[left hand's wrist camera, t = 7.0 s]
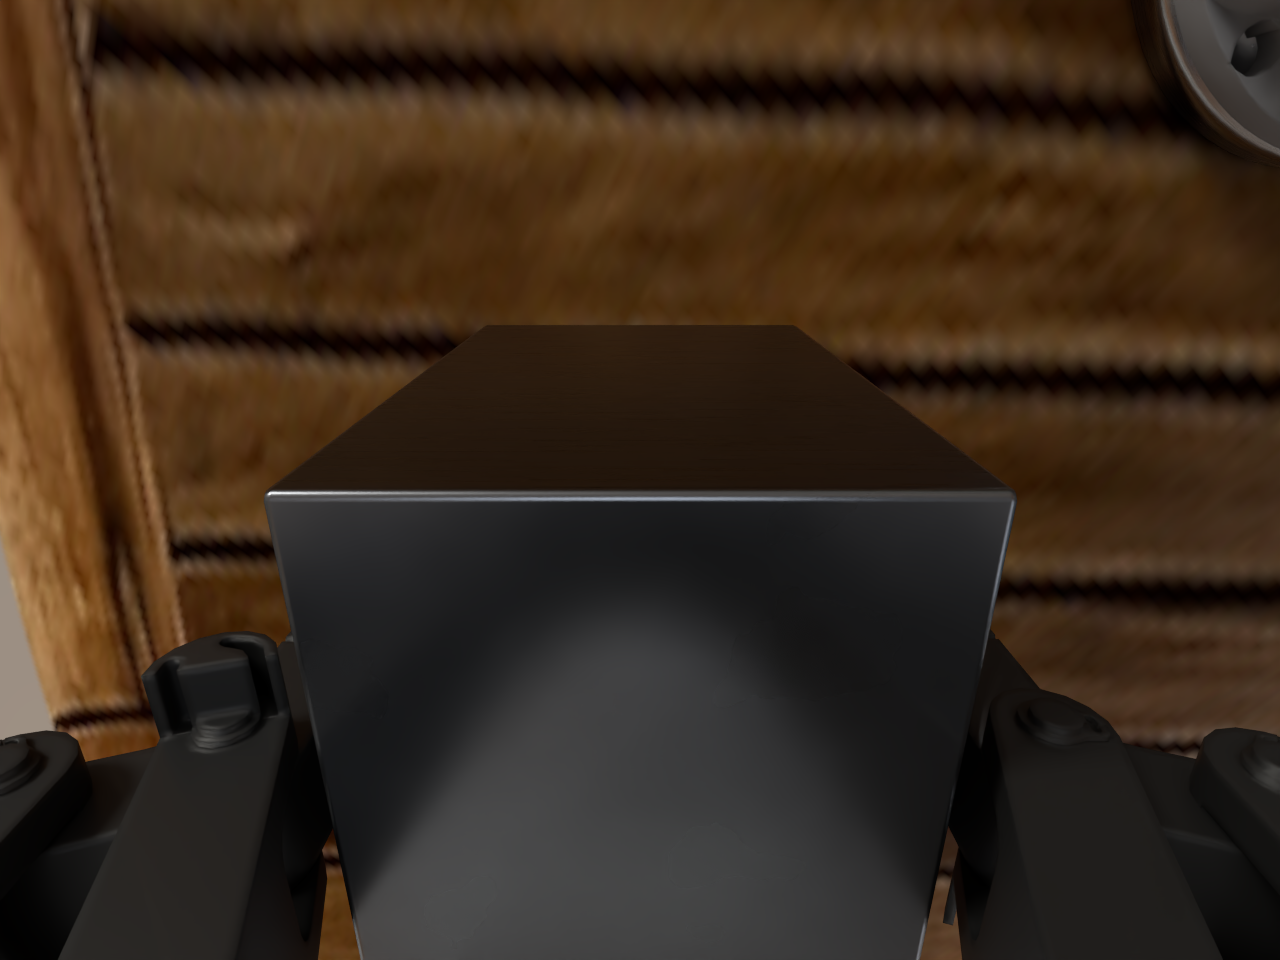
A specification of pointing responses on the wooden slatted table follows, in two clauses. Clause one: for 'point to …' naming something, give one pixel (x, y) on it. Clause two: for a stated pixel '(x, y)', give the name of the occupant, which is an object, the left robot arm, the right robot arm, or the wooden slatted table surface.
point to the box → (640, 648)
